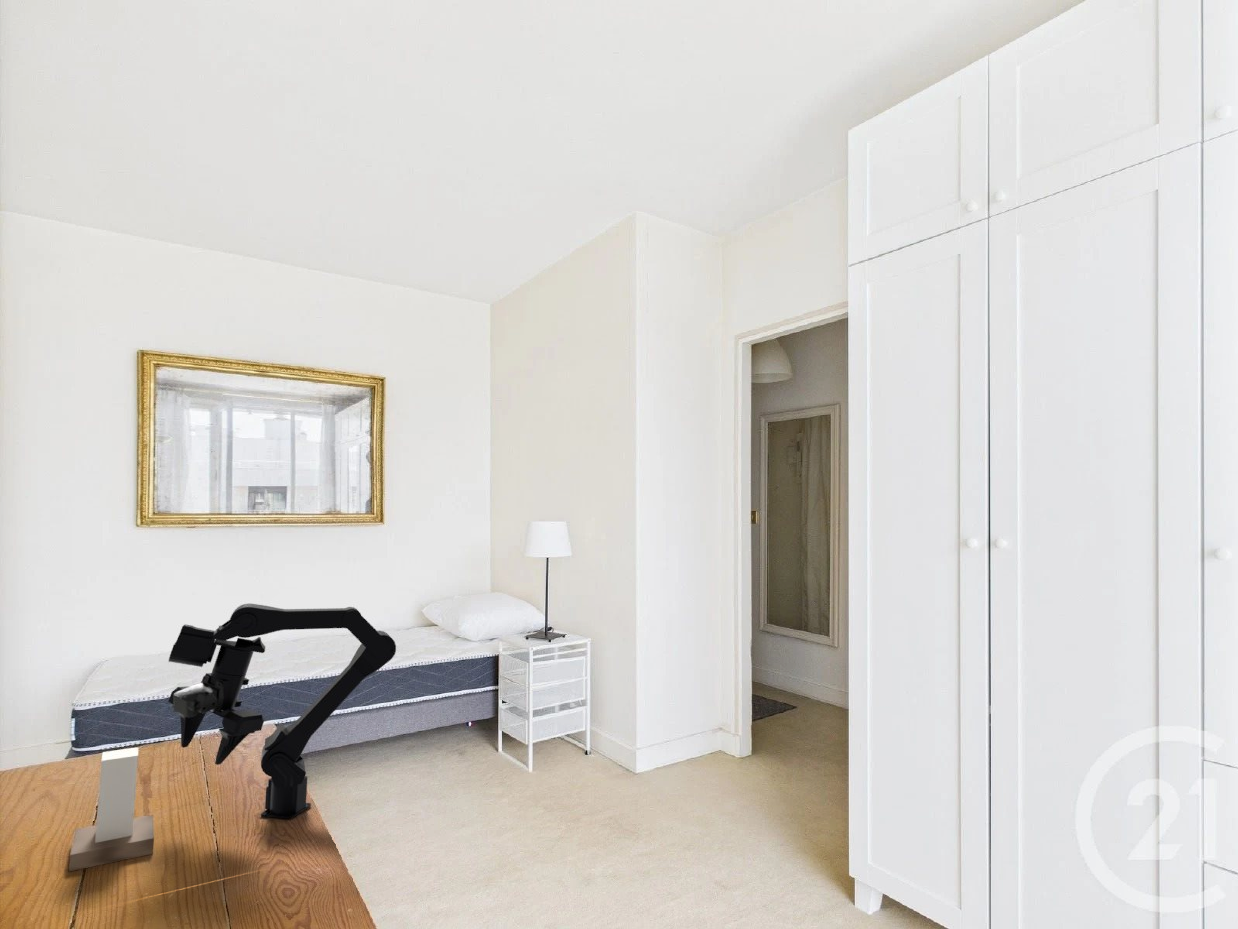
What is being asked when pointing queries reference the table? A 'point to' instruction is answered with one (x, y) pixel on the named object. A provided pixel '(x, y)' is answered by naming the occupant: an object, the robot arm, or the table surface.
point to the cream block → (117, 794)
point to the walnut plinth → (111, 845)
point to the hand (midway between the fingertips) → (200, 755)
